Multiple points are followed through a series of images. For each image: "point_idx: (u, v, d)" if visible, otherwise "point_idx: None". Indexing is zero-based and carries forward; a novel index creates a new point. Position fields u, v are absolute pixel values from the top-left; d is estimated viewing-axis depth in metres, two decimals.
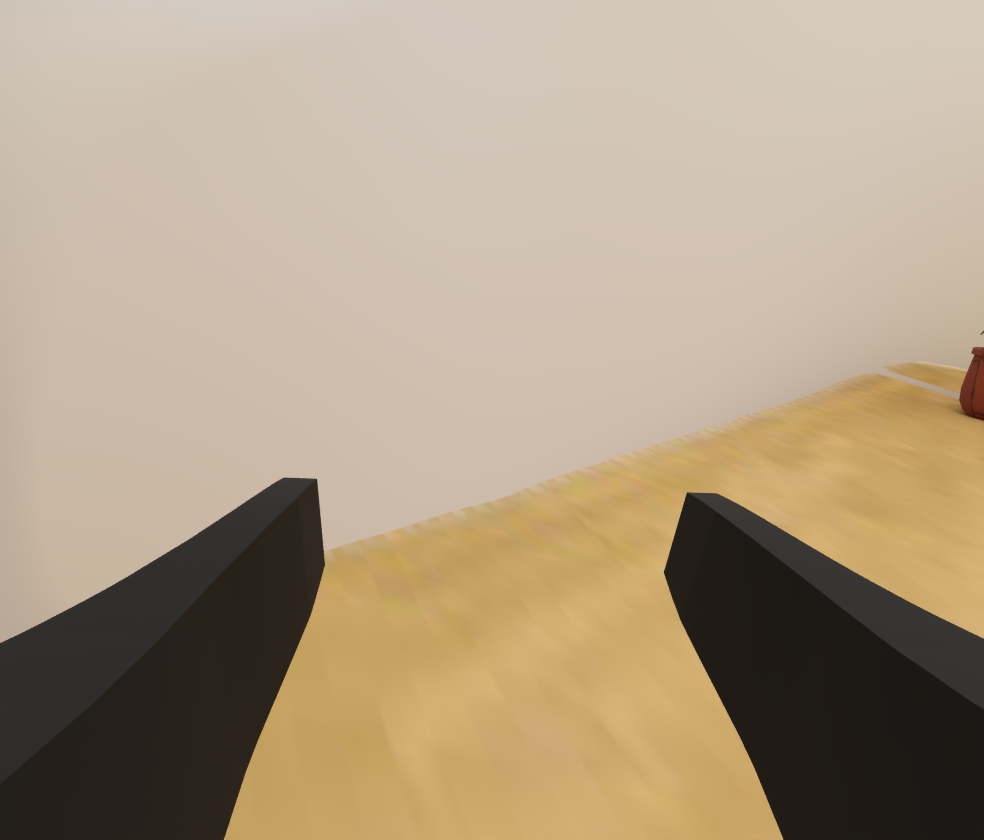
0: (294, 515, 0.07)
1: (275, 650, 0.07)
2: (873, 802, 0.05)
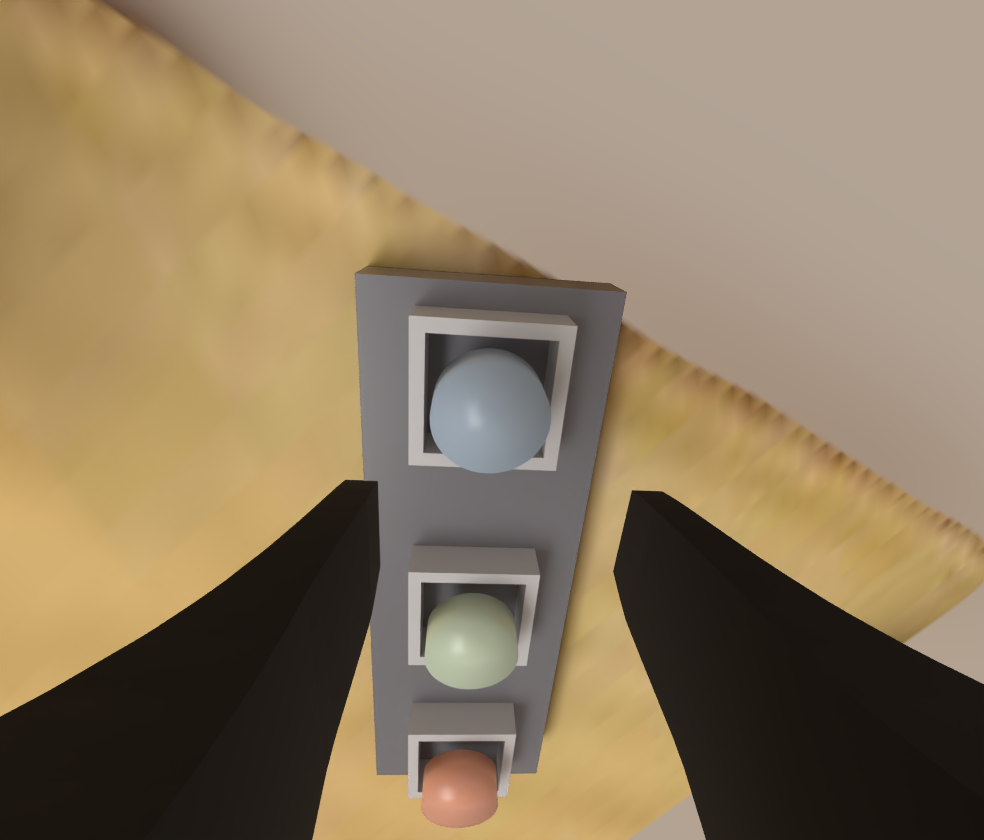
0: (364, 517, 0.08)
1: (348, 650, 0.07)
2: (778, 804, 0.05)
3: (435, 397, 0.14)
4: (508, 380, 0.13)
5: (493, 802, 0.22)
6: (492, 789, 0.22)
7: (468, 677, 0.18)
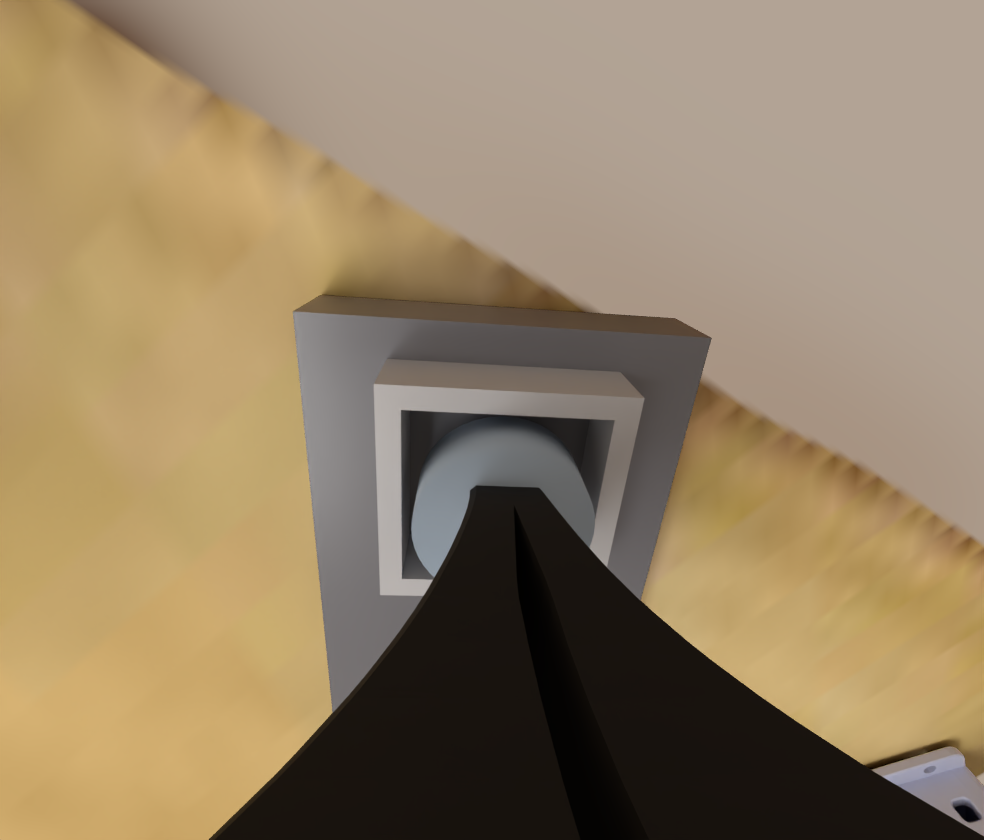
0: None
1: None
2: None
3: (419, 499, 0.09)
4: (531, 475, 0.09)
5: None
6: None
7: None
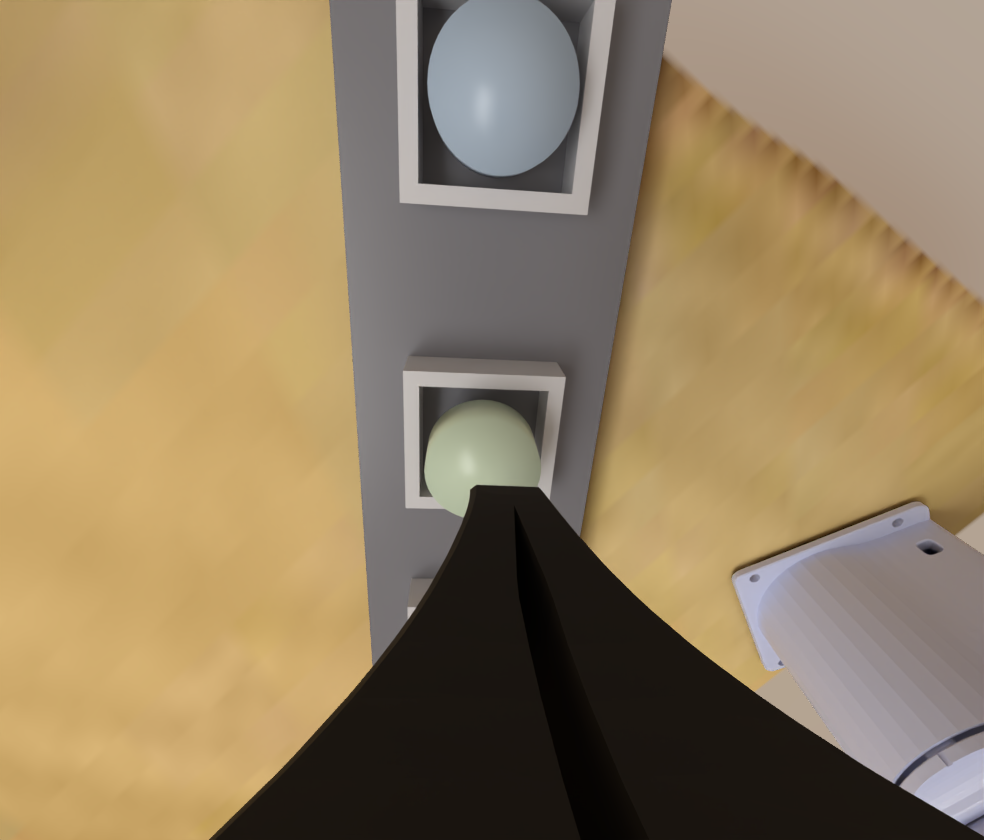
0: None
1: None
2: None
3: (434, 49, 0.11)
4: (526, 21, 0.11)
5: None
6: None
7: None
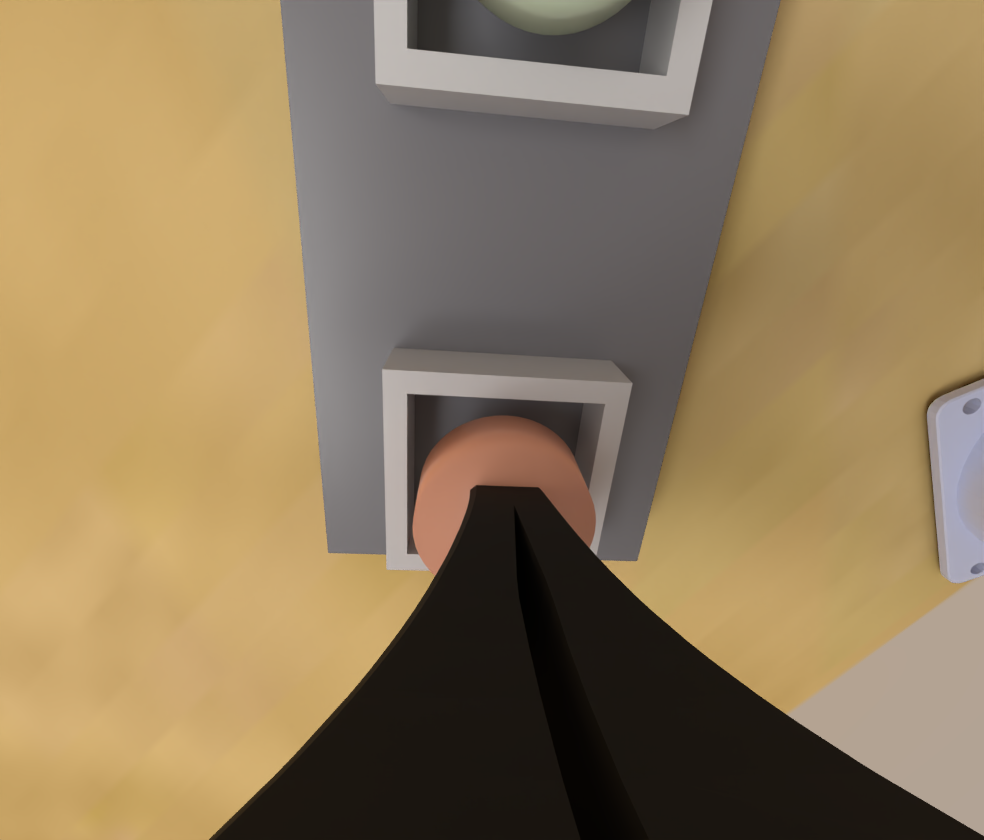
0: None
1: None
2: None
3: None
4: None
5: (586, 520, 0.09)
6: (585, 484, 0.09)
7: None
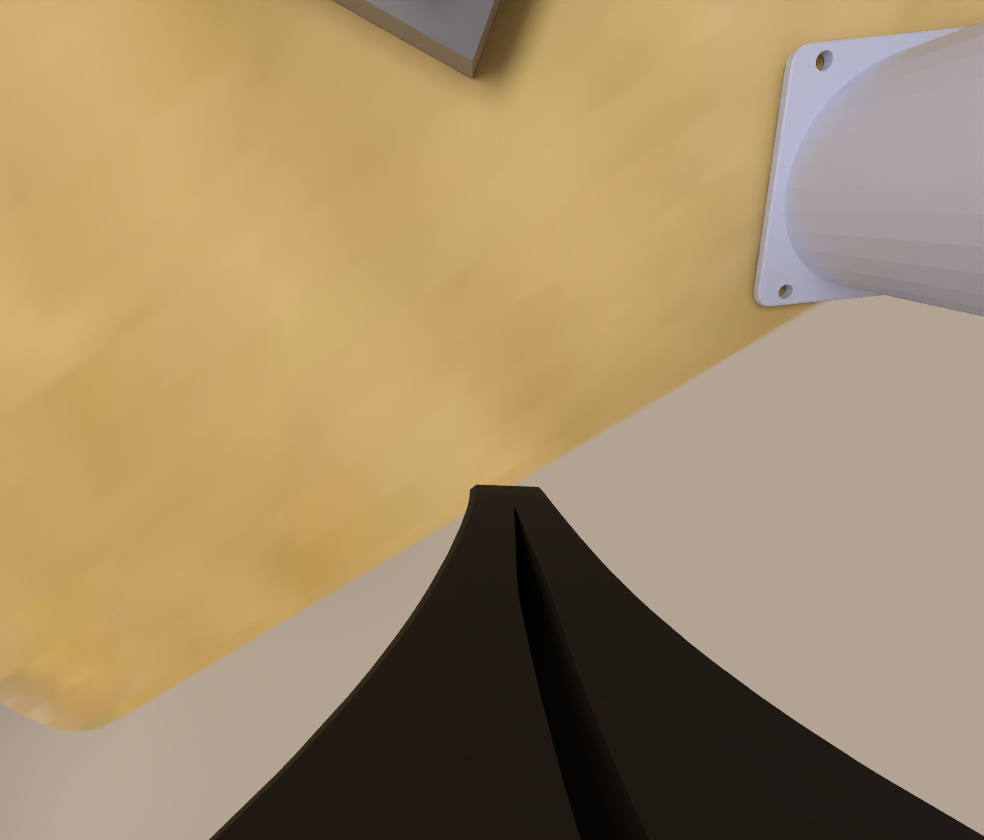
0: None
1: None
2: None
3: None
4: None
5: None
6: None
7: None
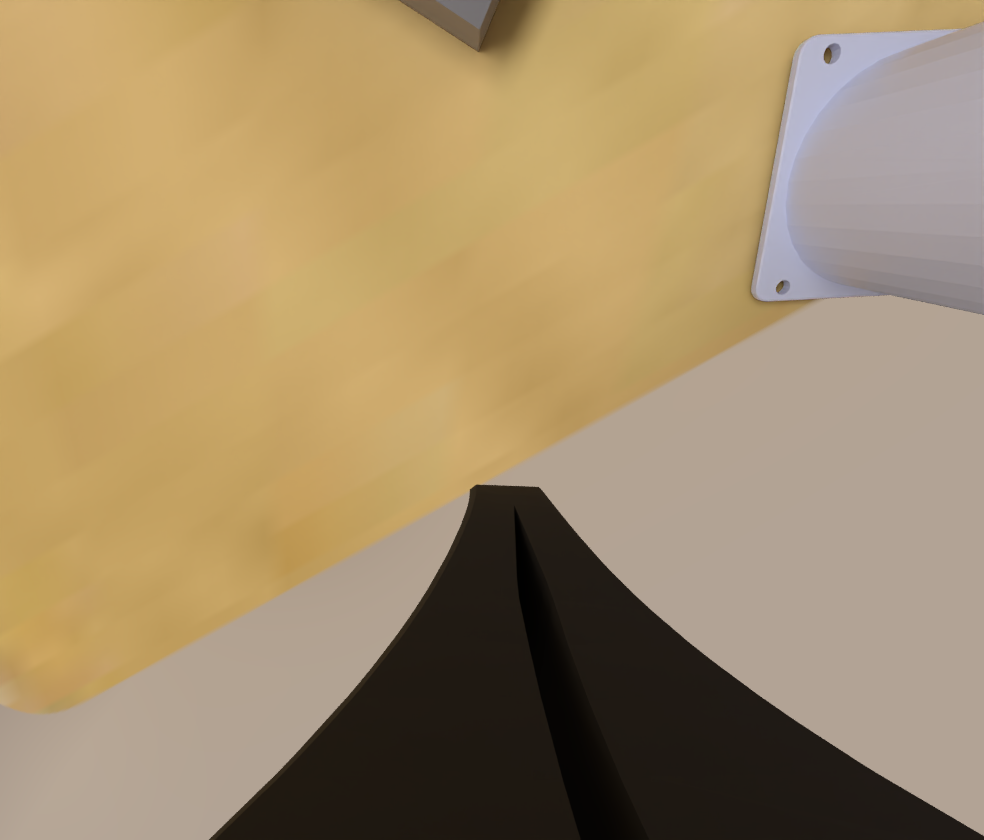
0: None
1: None
2: None
3: None
4: None
5: None
6: None
7: None
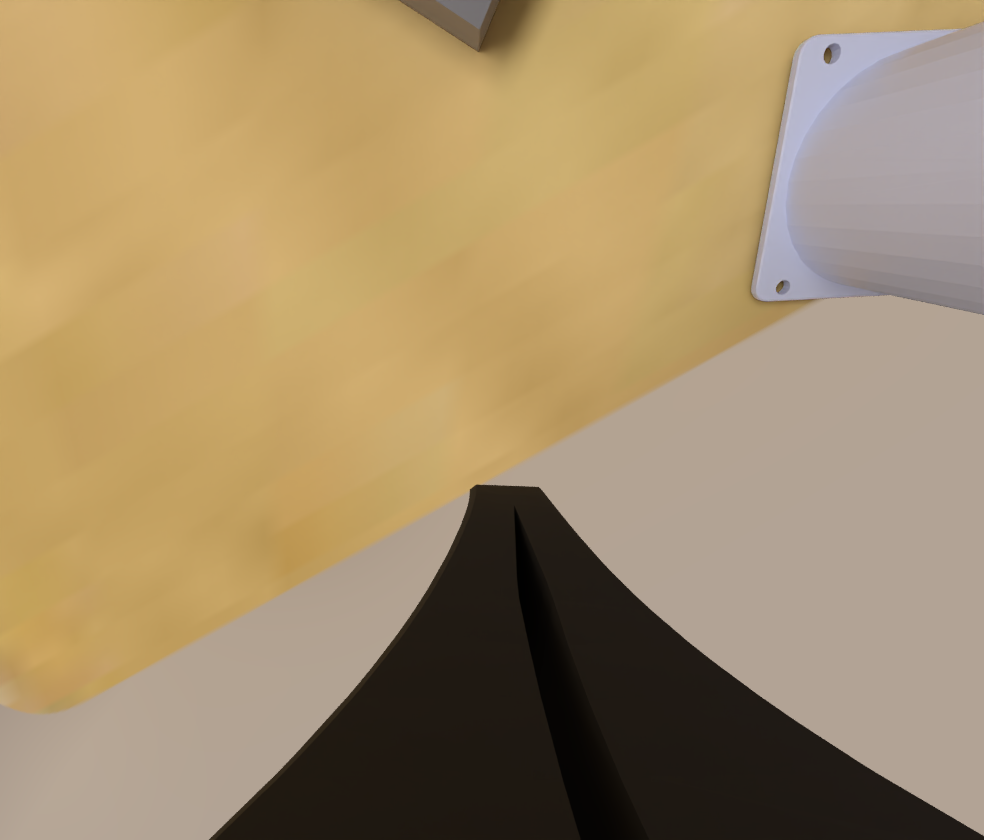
0: None
1: None
2: None
3: None
4: None
5: None
6: None
7: None
